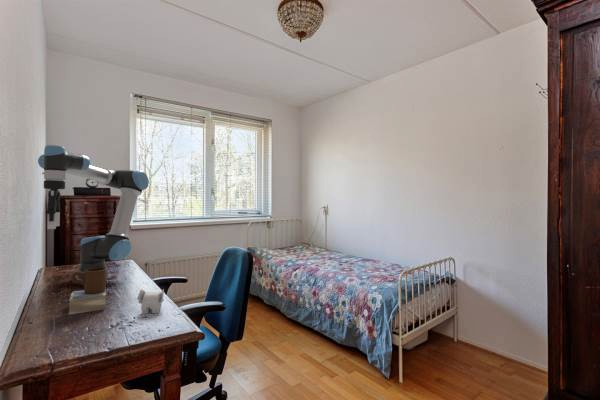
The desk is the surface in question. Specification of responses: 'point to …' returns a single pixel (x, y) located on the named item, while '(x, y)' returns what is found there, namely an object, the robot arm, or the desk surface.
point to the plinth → (86, 302)
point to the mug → (92, 280)
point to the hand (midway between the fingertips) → (53, 227)
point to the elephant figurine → (150, 301)
